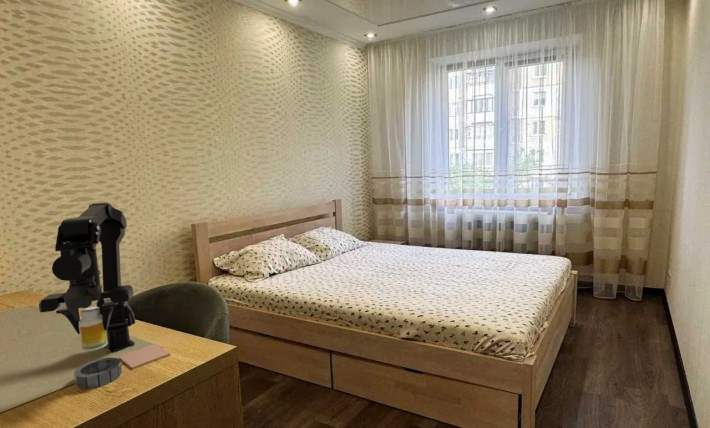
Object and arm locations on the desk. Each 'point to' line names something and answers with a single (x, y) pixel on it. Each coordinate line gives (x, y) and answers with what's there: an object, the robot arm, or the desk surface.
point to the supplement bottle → (92, 329)
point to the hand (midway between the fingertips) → (92, 331)
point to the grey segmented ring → (90, 376)
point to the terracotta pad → (144, 356)
